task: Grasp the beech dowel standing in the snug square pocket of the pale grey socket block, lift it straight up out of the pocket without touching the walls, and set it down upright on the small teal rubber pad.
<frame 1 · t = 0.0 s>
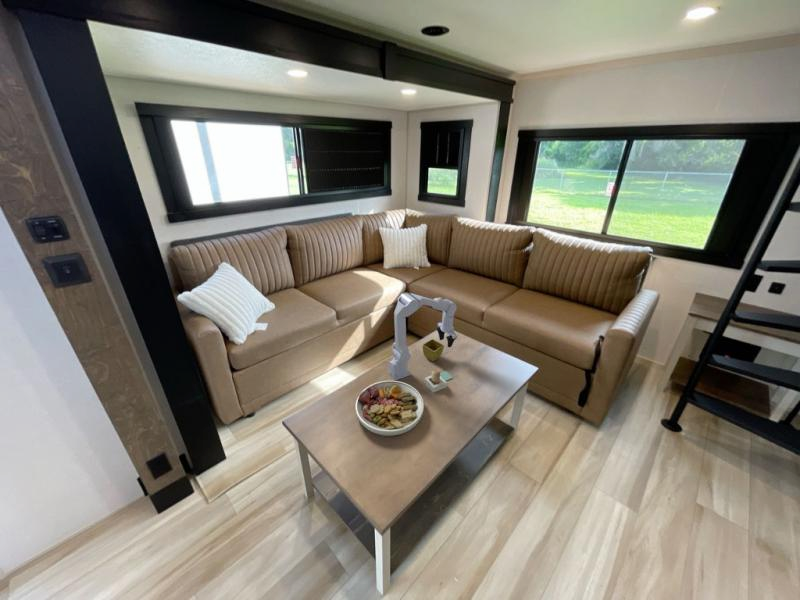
hand: (445, 343, 169), 10 cm above the table, fingers open, 7 cm apart
flower pot: (432, 358, 173), on the table
pad: (444, 376, 159), on the table
bowl: (389, 412, 138), on the table
socket block: (435, 385, 154), on the table
dowel: (435, 378, 152), in the socket block
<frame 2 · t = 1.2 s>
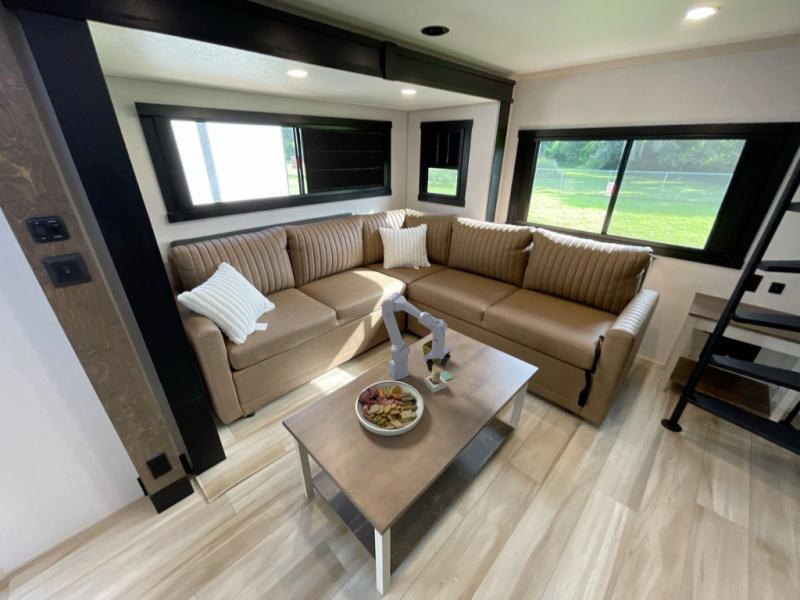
hand: (436, 368, 149), 10 cm above the table, fingers open, 7 cm apart
nothing on the table moved.
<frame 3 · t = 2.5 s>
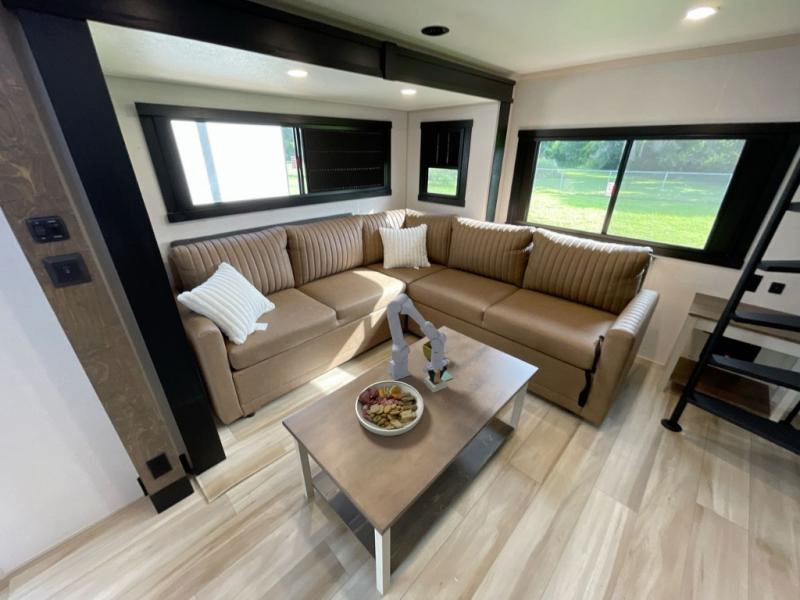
hand: (435, 379, 152), 4 cm above the table, fingers closed on dowel, 4 cm apart
dowel: (435, 378, 152), in the socket block, touching gripper
everything else where it was.
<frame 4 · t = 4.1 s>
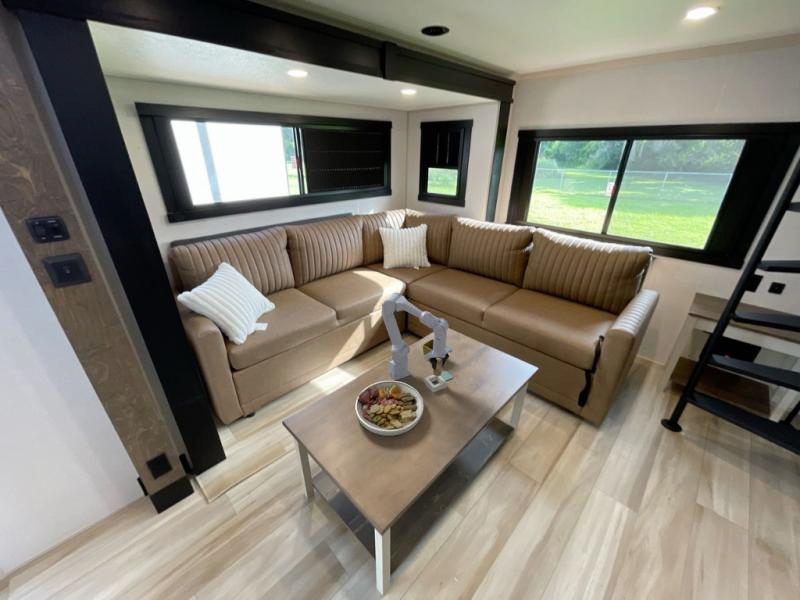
hand: (437, 367, 150), 10 cm above the table, fingers closed on dowel, 4 cm apart
dowel: (437, 366, 150), point 11 cm above the table, touching gripper
everything else where it was.
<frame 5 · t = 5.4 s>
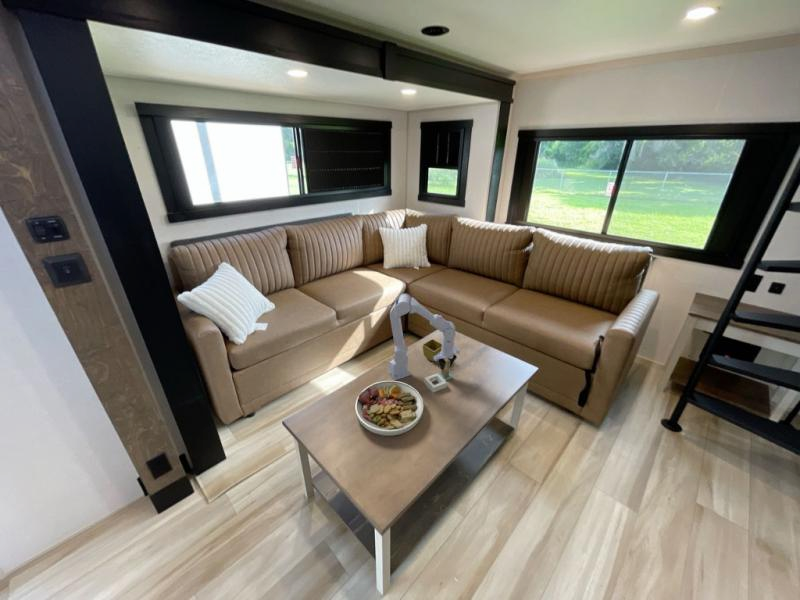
hand: (445, 367, 157), 6 cm above the table, fingers closed on dowel, 4 cm apart
dowel: (445, 367, 157), point 6 cm above the table, touching gripper
everything else where it was.
when the fingers open (5 cm above the table, at t = 6.0 s): dowel stays where it is, resting on pad.
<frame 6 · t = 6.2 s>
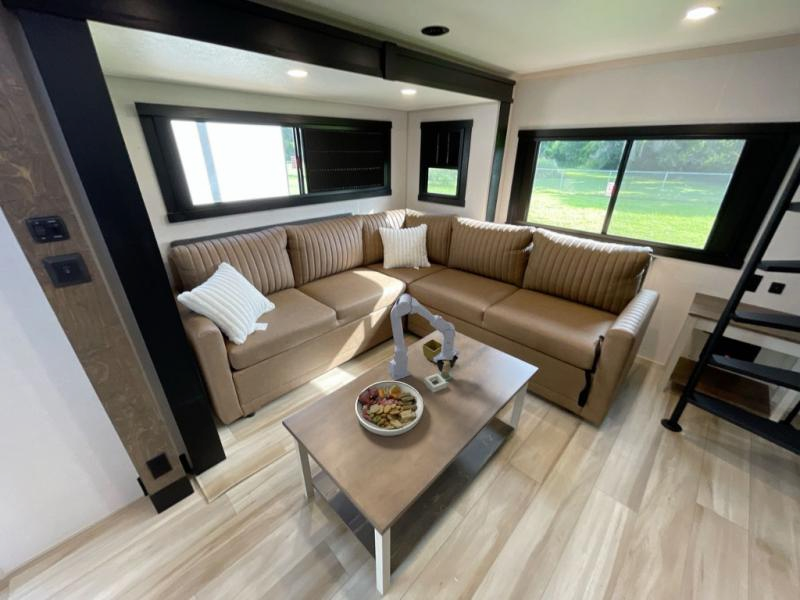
hand: (445, 368, 157), 5 cm above the table, fingers open, 6 cm apart
dowel: (445, 369, 157), on the pad
everything else where it was.
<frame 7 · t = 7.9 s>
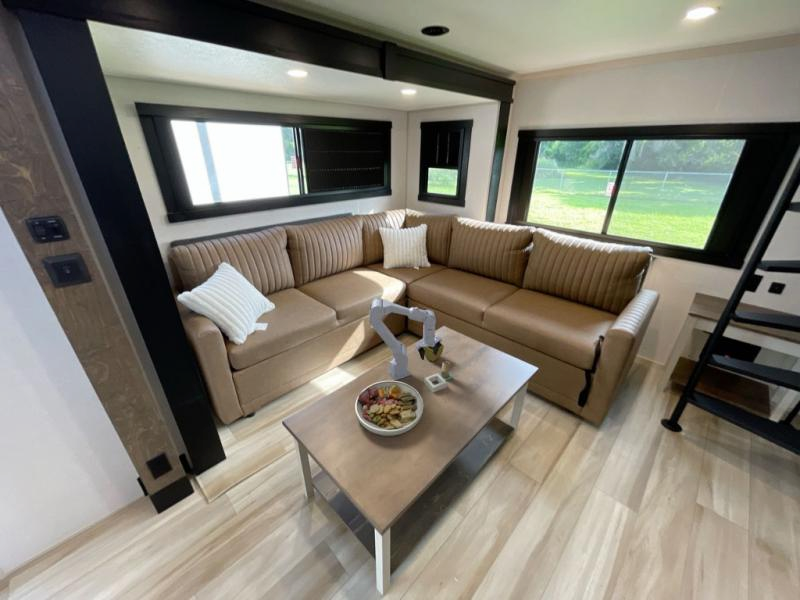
hand: (428, 356, 157), 10 cm above the table, fingers open, 7 cm apart
nothing on the table moved.
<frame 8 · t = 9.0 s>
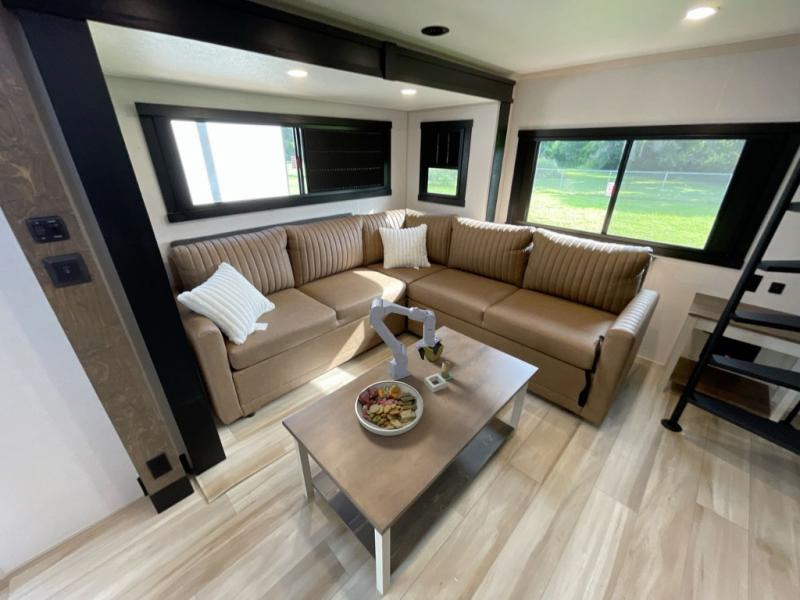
hand: (428, 356, 157), 10 cm above the table, fingers open, 7 cm apart
nothing on the table moved.
at the end: dowel 0.2 cm from the pad (horizontally); dowel tilted 0°; dowel resting on pad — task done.
